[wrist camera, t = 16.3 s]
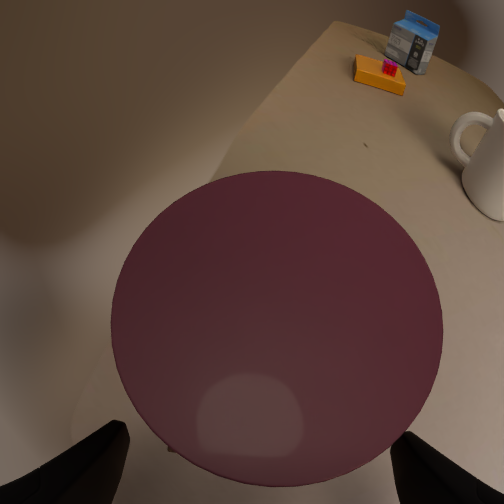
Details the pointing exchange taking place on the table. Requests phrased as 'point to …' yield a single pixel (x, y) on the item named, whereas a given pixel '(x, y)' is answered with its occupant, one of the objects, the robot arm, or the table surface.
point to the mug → (483, 162)
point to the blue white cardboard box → (412, 42)
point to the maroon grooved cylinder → (276, 328)
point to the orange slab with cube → (379, 74)
